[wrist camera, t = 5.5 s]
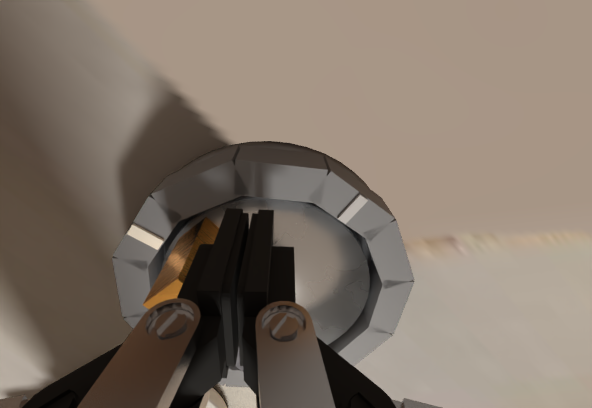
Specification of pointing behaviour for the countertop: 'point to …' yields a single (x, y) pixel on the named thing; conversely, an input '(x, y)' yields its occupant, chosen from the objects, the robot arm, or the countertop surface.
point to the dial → (307, 255)
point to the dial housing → (275, 185)
